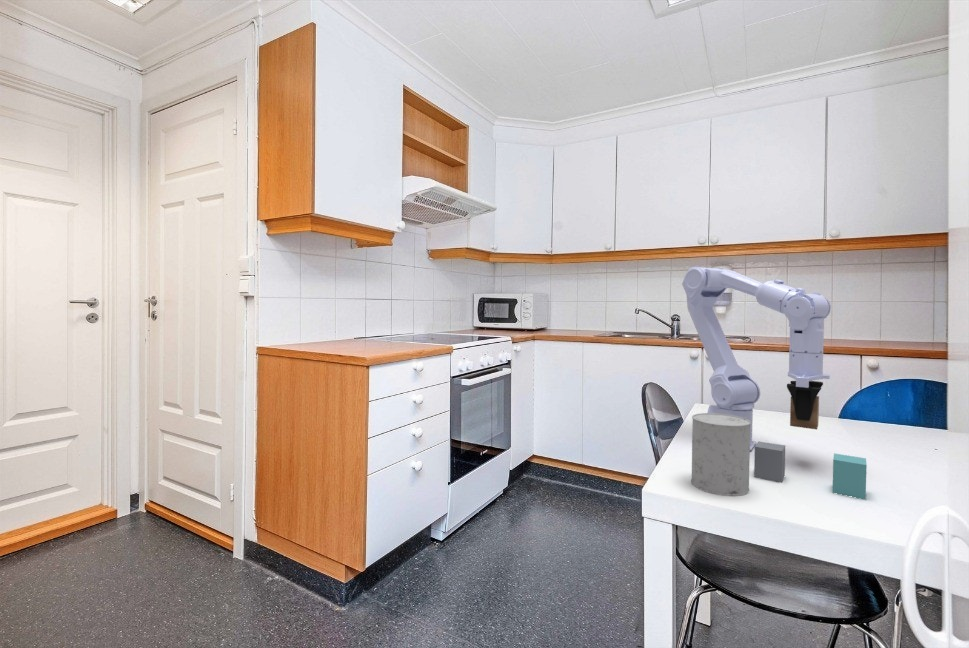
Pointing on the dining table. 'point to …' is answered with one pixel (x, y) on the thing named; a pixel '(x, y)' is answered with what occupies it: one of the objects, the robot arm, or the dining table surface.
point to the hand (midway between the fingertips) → (804, 417)
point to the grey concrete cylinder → (720, 453)
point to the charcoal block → (769, 461)
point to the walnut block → (802, 423)
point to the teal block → (849, 476)
